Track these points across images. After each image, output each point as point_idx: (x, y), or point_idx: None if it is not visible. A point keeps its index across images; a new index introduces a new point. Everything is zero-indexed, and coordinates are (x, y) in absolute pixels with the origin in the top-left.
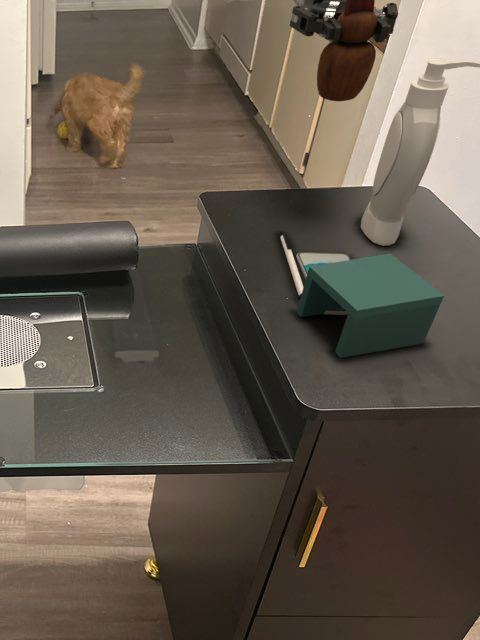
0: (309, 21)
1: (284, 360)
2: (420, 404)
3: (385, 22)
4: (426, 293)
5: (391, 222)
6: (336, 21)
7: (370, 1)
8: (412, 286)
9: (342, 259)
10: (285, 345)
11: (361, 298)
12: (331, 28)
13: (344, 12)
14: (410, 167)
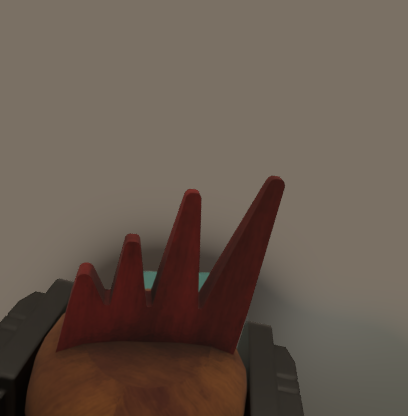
0: None
1: (247, 317)
2: None
3: (41, 299)
4: (145, 275)
5: None
6: (255, 381)
7: (100, 284)
8: (151, 284)
9: None
10: (242, 331)
11: (203, 281)
12: (281, 347)
13: (235, 341)
14: None
